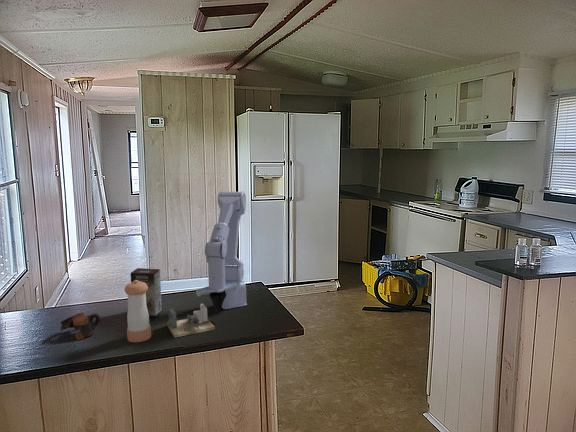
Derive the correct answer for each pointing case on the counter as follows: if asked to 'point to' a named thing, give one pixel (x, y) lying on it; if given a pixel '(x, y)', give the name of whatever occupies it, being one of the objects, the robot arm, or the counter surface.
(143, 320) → the salt shaker
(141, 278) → the coffee box
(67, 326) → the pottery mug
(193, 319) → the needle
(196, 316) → the grey stepped block
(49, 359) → the counter surface
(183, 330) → the gauge base
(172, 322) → the anvil
